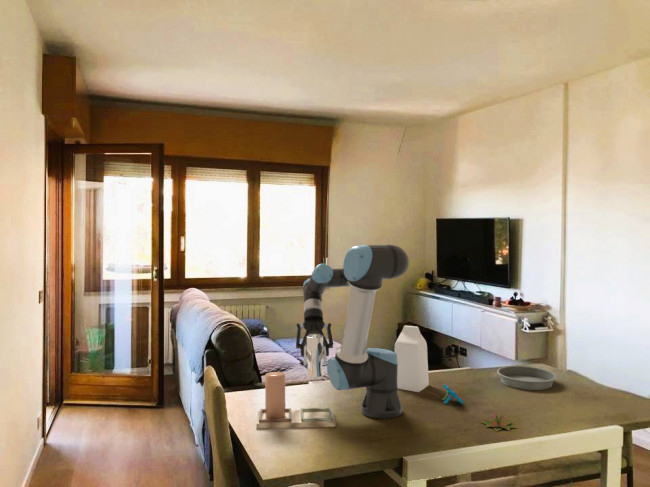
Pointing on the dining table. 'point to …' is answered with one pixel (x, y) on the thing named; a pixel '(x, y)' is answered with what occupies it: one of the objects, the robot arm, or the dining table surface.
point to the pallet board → (299, 418)
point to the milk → (411, 360)
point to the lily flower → (498, 423)
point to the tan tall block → (275, 395)
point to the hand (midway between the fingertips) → (315, 363)
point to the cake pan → (526, 377)
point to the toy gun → (450, 395)
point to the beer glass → (314, 354)
